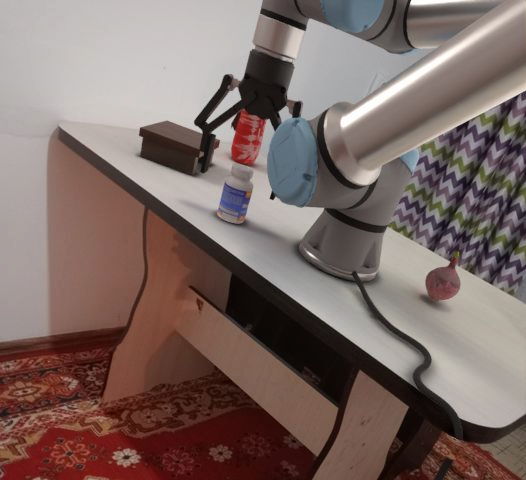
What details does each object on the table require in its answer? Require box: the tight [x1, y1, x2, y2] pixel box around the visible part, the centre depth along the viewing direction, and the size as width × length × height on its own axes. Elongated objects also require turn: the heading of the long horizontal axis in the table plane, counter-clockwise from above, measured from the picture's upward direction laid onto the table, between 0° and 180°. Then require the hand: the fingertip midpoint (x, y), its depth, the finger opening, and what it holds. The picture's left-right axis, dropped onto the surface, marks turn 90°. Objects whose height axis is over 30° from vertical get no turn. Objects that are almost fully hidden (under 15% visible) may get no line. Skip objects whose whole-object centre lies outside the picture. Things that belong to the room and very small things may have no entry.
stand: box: [138, 120, 221, 176], centre depth 108 cm, size 16×14×6 cm
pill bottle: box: [216, 163, 255, 225], centre depth 86 cm, size 5×5×10 cm
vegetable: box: [424, 251, 462, 302], centre depth 82 cm, size 6×6×10 cm
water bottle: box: [230, 109, 268, 166], centre depth 121 cm, size 12×8×25 cm, turn 39°
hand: (238, 184), depth 85 cm, fingers open, 13 cm apart
